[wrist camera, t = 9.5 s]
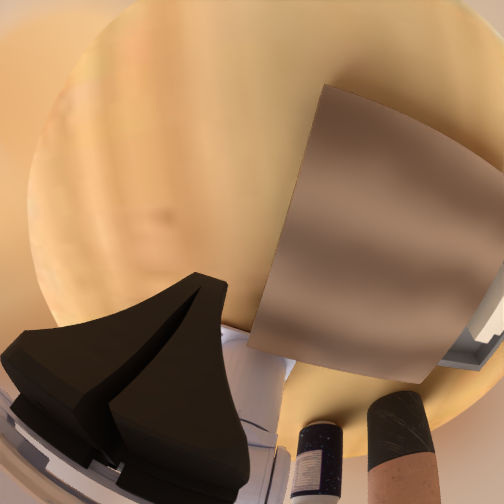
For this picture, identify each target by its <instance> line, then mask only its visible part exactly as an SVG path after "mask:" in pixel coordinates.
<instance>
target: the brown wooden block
mask: <svg viewBox="0 0 504 504" xmlns="http://www.w3.org/2000/svg"><path fill="white" fill-rule="evenodd" d="M503 261H504V174H503V173H502V172H500V171H499V170H498V169H496V168H495V167H494V166H492V165H491V164H490V163H488V162H487V161H485V160H484V159H482V158H481V157H479V156H478V155H476V154H475V153H473V152H472V151H470V150H469V149H467V148H466V147H464V146H462V145H461V144H459V143H457V142H456V141H454V140H452V139H451V138H449V137H447V136H445V135H444V134H442V133H440V132H438V131H436V130H435V129H433V128H431V127H429V126H427V125H425V124H423V123H421V122H419V121H417V120H415V119H413V118H411V117H409V116H407V115H405V114H402V113H400V112H398V111H396V110H394V109H391V108H389V107H387V106H384V105H382V104H379V103H377V102H374V101H372V100H369V99H367V98H364V97H361V96H359V95H356V94H353V93H350V92H347V91H344V90H341V89H338V88H335V87H332V86H329V85H325V84H324V86H323V89H322V92H321V95H320V98H319V102H318V106H317V110H316V113H315V117H314V121H313V124H312V128H311V132H310V135H309V139H308V143H307V146H306V150H305V153H304V157H303V160H302V164H301V167H300V171H299V174H298V178H297V181H296V185H295V188H294V192H293V195H292V199H291V202H290V205H289V209H288V212H287V215H286V219H285V222H284V225H283V229H282V232H281V235H280V239H279V242H278V245H277V249H276V252H275V255H274V258H273V262H272V265H271V268H270V271H269V274H268V278H267V281H266V284H265V287H264V290H263V294H262V297H261V300H260V303H259V306H258V309H257V312H256V315H255V319H254V322H253V325H252V329H251V332H250V335H249V339H248V342H247V345H246V347H249V348H253V349H256V350H259V351H263V352H266V353H270V354H273V355H277V356H281V357H284V358H288V359H292V360H296V361H300V362H304V363H308V364H312V365H316V366H321V367H325V368H329V369H334V370H339V371H343V372H348V373H353V374H359V375H364V376H369V377H375V378H381V379H387V380H394V381H400V382H407V383H415V384H421V383H422V382H423V380H424V379H425V378H426V377H427V376H428V375H429V374H430V372H431V371H432V370H433V369H434V368H435V367H436V365H437V364H438V363H439V362H440V360H441V359H442V358H443V357H444V355H445V354H446V353H447V352H448V350H449V349H450V348H451V346H452V345H453V344H454V342H455V341H456V339H457V338H458V337H459V335H460V334H461V332H462V331H463V330H464V328H465V327H466V325H467V324H468V322H469V321H470V319H471V318H472V316H473V315H474V313H475V311H476V310H477V308H478V307H479V305H480V303H481V302H482V300H483V298H484V297H485V295H486V293H487V291H488V290H489V288H490V286H491V284H492V282H493V280H494V279H495V277H496V275H497V273H498V271H499V269H500V267H501V265H502V263H503Z"/></svg>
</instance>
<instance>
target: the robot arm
mask: <svg viewBox="0 0 504 504" xmlns="http://www.w3.org/2000/svg"><path fill="white" fill-rule="evenodd" d="M227 288H228V284H227V283H226V282H225V281H222V280H219V279H216V278H213V277H210V276H207V275H204V274H201V273H197V272H194V273H192V274H190V275H189V276H187V277H186V278H184V279H182V280H181V281H179V282H177V283H176V284H174V285H172V286H171V287H169V288H167V289H165V290H164V291H162V292H160V293H158V294H157V295H155V296H153V297H151V298H149V299H147V300H145V301H143V302H141V303H139V304H137V305H135V306H132V307H130V308H128V309H125V310H123V311H120V312H117V313H115V314H112V315H109V316H106V317H102V318H99V319H96V320H92V321H89V322H85V323H81V324H76V325H71V326H65V327H59V328H53V329H42V330H41V329H40V330H28V331H27V330H26V331H24V332H23V333H21V334H20V335H19V337H17V338H16V340H15V341H14V342H13V343H12V344H11V345H10V346H9V347H8V348H7V349H6V350H5V351H4V352H3V353H2V354H1V356H0V358H1V359H0V360H1V363H2V366H3V367H4V369H5V371H6V373H7V374H8V375H9V377H10V379H11V380H12V382H13V383H14V385H15V386H16V387H17V389H18V390H19V392H20V395H19V396H18V397H17V398H16V400H14V399H13V398H12V397H11V396H10V395H9V394H8V393H7V392H6V391H5V390H4V389H3V388H2V387H1V386H0V504H100V503H98V502H96V501H94V500H93V499H91V498H89V497H88V496H86V495H84V494H83V493H81V492H79V491H78V490H76V489H75V488H73V487H71V486H70V485H68V484H67V483H65V482H64V481H62V480H61V479H59V478H58V477H57V476H55V475H54V474H53V473H51V472H50V471H49V470H47V469H46V466H47V464H48V462H49V461H50V460H49V458H48V457H47V456H45V455H44V454H43V453H42V452H40V451H39V450H38V449H37V448H35V446H33V445H32V444H31V443H30V442H29V441H28V440H27V439H26V438H25V437H24V436H22V435H21V434H20V433H19V432H18V431H17V430H16V429H15V422H16V423H17V424H18V425H20V427H21V428H23V429H24V430H25V431H26V432H27V433H28V434H29V435H31V436H32V437H33V438H34V439H35V440H36V441H38V442H39V443H40V444H41V445H43V446H44V447H45V448H46V449H48V450H49V451H50V452H52V453H53V454H54V455H56V456H57V457H59V458H60V459H61V460H63V461H64V462H66V463H67V464H68V465H70V466H71V467H73V468H75V469H76V470H77V471H79V472H81V473H82V474H84V475H85V476H87V477H89V478H90V479H92V480H94V481H95V482H97V483H99V484H101V485H102V486H104V487H106V488H108V489H110V490H112V491H114V492H116V493H117V494H119V495H122V496H124V497H126V498H128V499H130V500H132V501H134V502H136V503H139V504H283V500H284V497H285V493H286V488H287V483H288V478H289V471H290V462H291V455H290V453H289V452H288V451H287V450H286V448H285V447H284V446H278V447H277V450H276V454H275V448H276V442H277V436H278V434H276V433H277V427H278V421H279V415H280V409H281V403H282V396H283V390H284V383H285V381H286V379H287V378H288V376H289V374H290V372H291V371H292V369H293V367H294V365H295V363H296V360H292V359H288V358H284V357H281V356H277V355H273V354H270V353H266V352H263V351H259V350H256V349H253V348H249V347H246V345H247V342H248V339H249V335H250V333H248V332H245V331H242V330H239V329H236V328H232V327H229V326H226V325H223V324H221V315H222V311H223V306H224V302H225V297H226V293H227ZM221 333H222V334H221ZM14 421H15V422H14ZM274 454H275V457H274ZM273 460H274V461H273ZM108 466H109V467H110V468H113V469H115V470H118V471H120V472H121V473H120V474H119V473H117V472H116V471H114V470H112V469H110V468H108Z"/></svg>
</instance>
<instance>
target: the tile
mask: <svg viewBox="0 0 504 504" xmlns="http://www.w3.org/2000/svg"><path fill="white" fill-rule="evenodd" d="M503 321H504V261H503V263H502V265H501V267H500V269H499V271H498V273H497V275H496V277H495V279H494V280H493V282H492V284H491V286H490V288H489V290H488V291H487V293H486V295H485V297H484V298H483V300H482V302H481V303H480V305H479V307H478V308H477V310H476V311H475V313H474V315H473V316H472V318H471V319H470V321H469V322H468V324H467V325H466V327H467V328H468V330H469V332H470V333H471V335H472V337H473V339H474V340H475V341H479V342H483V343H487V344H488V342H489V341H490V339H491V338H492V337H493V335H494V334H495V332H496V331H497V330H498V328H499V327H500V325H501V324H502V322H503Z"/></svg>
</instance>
